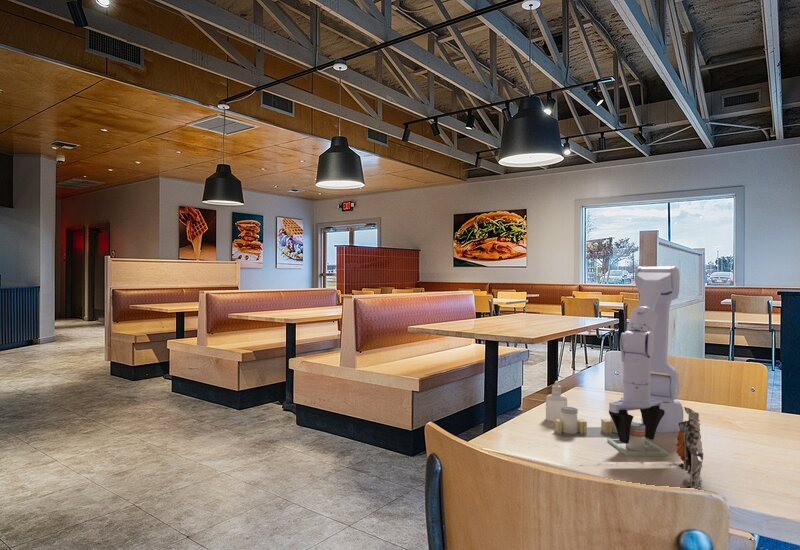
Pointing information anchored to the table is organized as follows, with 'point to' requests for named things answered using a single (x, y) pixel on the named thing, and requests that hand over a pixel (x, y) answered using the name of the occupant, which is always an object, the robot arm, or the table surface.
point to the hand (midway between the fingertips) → (636, 440)
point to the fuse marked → (636, 437)
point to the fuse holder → (587, 429)
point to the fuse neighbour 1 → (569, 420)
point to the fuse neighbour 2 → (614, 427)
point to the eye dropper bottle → (555, 403)
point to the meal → (690, 447)
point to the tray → (659, 453)
